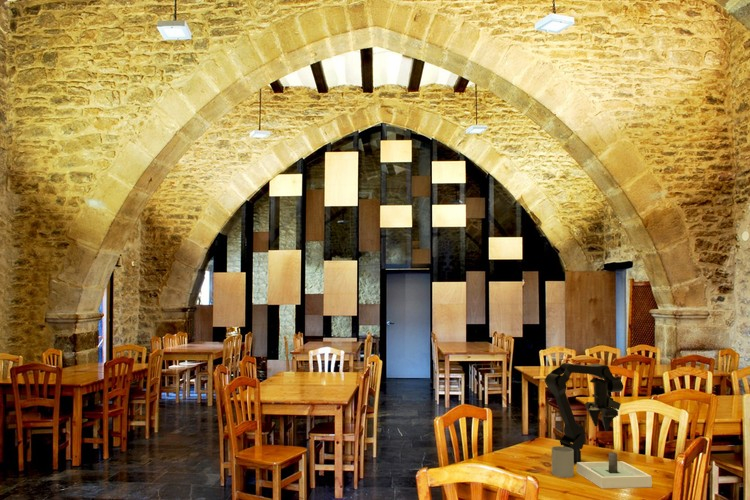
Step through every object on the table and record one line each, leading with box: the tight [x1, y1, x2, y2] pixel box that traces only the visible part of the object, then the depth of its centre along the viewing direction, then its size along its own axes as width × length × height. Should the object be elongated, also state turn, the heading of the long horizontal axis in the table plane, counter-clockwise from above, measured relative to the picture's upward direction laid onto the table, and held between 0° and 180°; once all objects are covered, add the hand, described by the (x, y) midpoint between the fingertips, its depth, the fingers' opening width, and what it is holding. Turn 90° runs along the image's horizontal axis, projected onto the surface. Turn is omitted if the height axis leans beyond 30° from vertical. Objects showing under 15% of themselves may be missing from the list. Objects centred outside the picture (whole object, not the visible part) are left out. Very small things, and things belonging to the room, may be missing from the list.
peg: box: [608, 451, 618, 474], centre depth 233 cm, size 3×3×9 cm
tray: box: [576, 460, 653, 489], centre depth 233 cm, size 20×20×4 cm
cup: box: [551, 445, 575, 479], centre depth 239 cm, size 8×8×10 cm
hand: (601, 428), depth 264 cm, fingers open, 9 cm apart
